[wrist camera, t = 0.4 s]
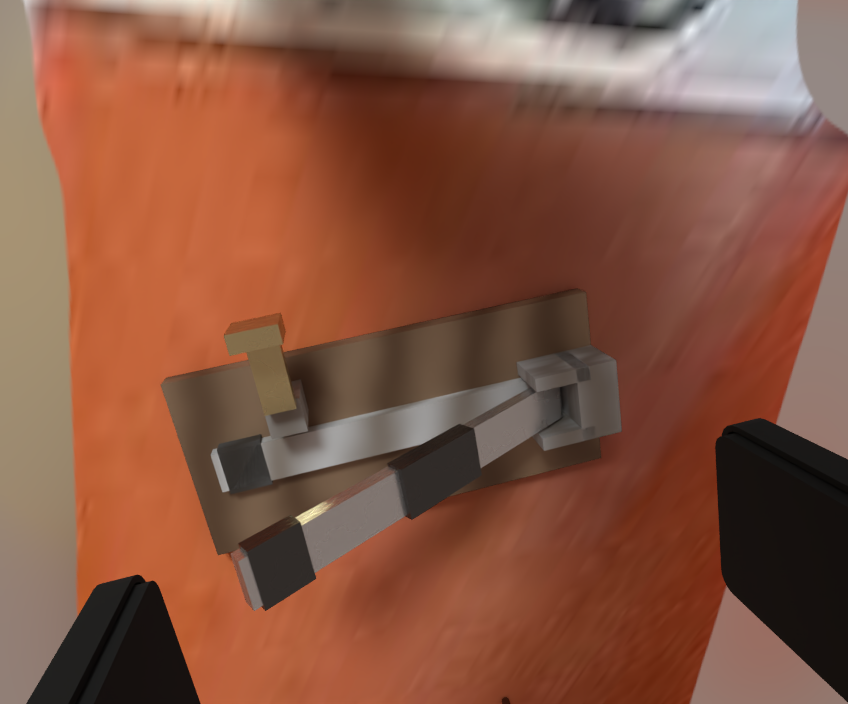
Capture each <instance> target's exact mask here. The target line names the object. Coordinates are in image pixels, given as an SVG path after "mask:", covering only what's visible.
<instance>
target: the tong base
mask: <svg viewBox="0 0 848 704" xmlns="http://www.w3.org/2000/svg"><path fill="white" fill-rule="evenodd" d="M284 356H285V360H286V363H287V367H288V371H289V375H290V379H291V383H292V386H293V390H294V394H295V398H296V402H297V408H296V409H293V410H289V411H285V412H280V413H276V414H271V415H267V416H264V412H263V409H262V405H261V402H260V398H259V394H258V391H257V387H256V384H255V380H254V377H253V373H252V370H251V366H250V363H249V360H246V361H241V362H237V363H232V364H228V365H223V366H218V367H214V368H209V369H205V370H200V371H195V372H191V373H186V374H182V375H177V376H172V377H168V378H166V379H165V380H164V381H163V382H162V384H161V387H162V390H163V393H164V396H165V399H166V402H167V405H168V408H169V411H170V414H171V417H172V420H173V423H174V426H175V429H176V432H177V435H178V438H179V441H180V444H181V447H182V450H183V453H184V456H185V459H186V462H187V465H188V468H189V471H190V473H191V476H192V479H193V482H194V485H195V488H196V491H197V494H198V497H199V500H200V503H201V506H202V509H203V512H204V515H205V518H206V521H207V524H208V527H209V530H210V533H211V536H212V539H213V542H214V545H215V548H216V551H217V554H218V555H221V554H225V553H229V552H233V551H236V550H238V549H239V545H238V543H240V542H241V541H243V540H245V539H247V538H249V537H251V536H252V535H254V534H256V533H258V532H260V531H261V530H263V529H265V528H267V527H269V526H271V525H272V524H274V523H276V522H278V521H280V520H282V519H283V518H285V517H287V516H289V515H292V516H293V517H294V518H295V517H297V516H299V515H301V514H302V513H304V512H306V511H308V510H310V509H311V508H313V507H315V506H317V505H319V504H321V503H322V502H324V501H326V500H328V499H330V498H331V497H333V496H335V495H337V494H339V493H340V492H342V491H344V490H346V489H348V488H349V487H351V486H353V485H355V484H357V483H358V482H360V481H362V480H364V479H366V478H367V477H369V476H371V475H373V474H375V473H376V472H378V471H380V470H382V469H384V468H385V467H387V466H388V465H387V463H389V462H390V461H392V460H394V459H396V458H398V457H399V456H401V455H403V454H405V453H407V452H409V451H410V450H412V449H414V448H416V447H418V446H419V445H421V444H423V443H425V442H427V441H429V440H430V439H432V438H434V437H436V436H438V435H439V434H441V433H443V432H445V431H447V430H449V429H450V428H452V427H454V426H456V425H458V424H462V425H463V424H465V423H467V422H468V421H470V420H472V419H474V418H476V417H477V416H479V415H481V414H483V413H485V412H487V411H488V410H490V409H492V408H494V407H496V406H497V405H499V404H501V403H503V402H505V401H506V400H508V399H510V398H512V397H514V396H515V395H517V394H519V393H521V392H523V391H524V390H526V389H528V388H530V387H532V388H533V389H534V390H535V391H536V392H540V391H545V390H549V389H553V388H557V387H560V394H561V403H562V412H563V417H562V418H560V419H558V420H557V421H555V422H554V423H552V424H550V425H549V426H547V427H546V428H544V429H543V430H541V431H539V432H538V433H536V434H535V435H533V436H531V437H530V438H528V439H527V440H525V441H523V442H522V443H520V444H519V445H517V446H516V447H514V448H512V449H511V450H509V451H508V452H506V453H504V454H503V455H501V456H500V457H498V458H496V459H495V460H493V461H492V462H490V463H488V464H487V465H485V466H484V467H482V468H481V473H482V475H481V476H480V477H478V478H477V479H475V480H473V481H472V482H470V483H469V484H467V485H466V486H464V487H462V488H461V489H459V490H458V491H456V492H455V493H453V494H451V495H450V496H453V495H457V494H461V493H465V492H469V491H473V490H477V489H481V488H485V487H488V486H492V485H496V484H500V483H504V482H508V481H512V480H516V479H520V478H524V477H528V476H532V475H536V474H540V473H544V472H547V471H551V470H555V469H559V468H563V467H567V466H571V465H575V464H579V463H583V462H587V461H591V460H595V459H599V458H601V450H600V439H599V437H602V436H606V435H610V434H614V433H618V432H622V428H621V415H620V403H619V390H618V377H617V364H616V360H615V359H613V358H612V357H610V356H608V355H607V354H605V353H603V352H602V351H600V350H598V349H597V348H595V347H593V346H592V345H591V341H590V330H589V319H588V308H587V297H586V292H585V291H582V290H580V289H573V290H568V291H564V292H559V293H555V294H550V295H545V296H541V297H536V298H532V299H527V300H522V301H518V302H513V303H509V304H504V305H499V306H495V307H490V308H486V309H481V310H476V311H472V312H467V313H463V314H458V315H453V316H449V317H444V318H439V319H435V320H430V321H426V322H421V323H416V324H412V325H407V326H403V327H398V328H393V329H389V330H384V331H380V332H375V333H370V334H366V335H361V336H357V337H352V338H347V339H343V340H338V341H334V342H329V343H324V344H320V345H315V346H311V347H306V348H301V349H297V350H292V351H287V352H284ZM448 497H449V496H448Z"/></svg>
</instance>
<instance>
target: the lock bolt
mask: <svg viewBox="0 0 848 704" xmlns="http://www.w3.org/2000/svg"><path fill="white" fill-rule="evenodd" d="M285 332H286V331H285V327H284V323H283V319H282V315H281V313H277V314H272V315H267V316H262V317H258V318H253V319H248V320H243V321H238V322H234V323H231V324H230V326H229V327H228V329H227V331H226V332H225V334H224V338H225V342H226V345H227V349H228V352H229V356H231V355H236V354H240V353H245V352H247V356H248V359H249V363H250V366H251V370H252V373H253V377H254V380H255V384H256V387H257V391H258V394H259V398H260V402H261V405H262V409H263V412H264V416H267V415H271V414H276V413H280V412H285V411H289V410H293V409H296V408H297V402H296V398H295V394H294V390H293V386H292V383H291V379H290V375H289V371H288V367H287V363H286V360H285V356H284V352H283V348H282V344H283V342H284V337H285Z"/></svg>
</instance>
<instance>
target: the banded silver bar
mask: <svg viewBox="0 0 848 704" xmlns="http://www.w3.org/2000/svg"><path fill="white" fill-rule="evenodd" d="M562 417H563V412H562V403H561V394H560V387H557V388H553V389H549V390H545V391H540V392H536V391H535V390H534V389H533V388H532V387H530V388H528V389H526V390H524V391H523V392H521V393H519V394H517V395H515V396H514V397H512V398H510V399H508V400H506V401H505V402H503V403H501V404H499V405H497V406H496V407H494V408H492V409H490V410H488V411H487V412H485V413H483V414H481V415H479V416H477V417H476V418H474V419H472V420H470V421H468V422H467V423H465V424H463V425H462V424H458V425H456V426H454V427H452V428H450V429H449V430H447V431H445V432H443V433H441V434H439V435H438V436H436V437H434V438H432V439H430V440H429V441H427V442H425V443H423V444H421V445H419V446H418V447H416V448H414V449H412V450H410V451H409V452H407V453H405V454H403V455H401V456H399V457H398V458H396V459H394V460H392V461H390V462H389V463H387V465H388V466H387V467H385V468H384V469H382V470H380V471H378V472H376V473H375V474H373V475H371V476H369V477H367V478H366V479H364V480H362V481H360V482H358V483H357V484H355V485H353V486H351V487H349V488H348V489H346V490H344V491H342V492H340V493H339V494H337V495H335V496H333V497H331V498H330V499H328V500H326V501H324V502H322V503H321V504H319V505H317V506H315V507H313V508H311V509H310V510H308V511H306V512H304V513H302V514H301V515H299V516H297V517H295V518H294V517H293V516H292V515H289V516H287V517H285V518H283V519H282V520H280V521H278V522H276V523H274V524H272V525H271V526H269V527H267V528H265V529H263V530H261V531H260V532H258V533H256V534H254V535H252V536H251V537H249V538H247V539H245V540H243V541H241V542H240V543H238V545H239V549H238V550H236V551H234V552H232V553H230V554H231V557H232V561H233V564H234V567H235V570H236V573H237V576H238V579H239V582H240V585H241V588H242V591H243V594H244V597H245V600H246V602H247V604H248V605H249V606H250V607H251V608H252V609H253V610H254V611H255V610H257V609H258V608H260V607H262V608H263V609H264V610H265V611H266V610H268V609H269V608H271V607H273V606H274V605H276V604H277V603H279V602H280V601H282V600H284V599H285V598H287V597H288V596H290V595H291V594H293V593H295V592H296V591H298V590H299V589H301V588H302V587H304V586H306V585H307V584H309V583H310V582H312V581H313V580H315V579H316V576H315V572H317V571H319V570H320V569H322V568H323V567H325V566H326V565H328V564H330V563H331V562H333V561H334V560H336V559H338V558H339V557H341V556H342V555H344V554H346V553H347V552H349V551H350V550H352V549H353V548H355V547H357V546H358V545H360V544H361V543H363V542H365V541H366V540H368V539H369V538H371V537H373V536H374V535H376V534H377V533H379V532H380V531H382V530H384V529H385V528H387V527H388V526H390V525H392V524H393V523H395V522H396V521H398V520H400V519H401V518H403V517H404V516H406V517H408V518H409V519H411V520H412V519H414V518H416V517H417V516H419V515H420V514H422V513H423V512H425V511H426V510H428V509H430V508H431V507H433V506H434V505H436V504H437V503H439V502H441V501H442V500H444V499H445V498H447V497H448V496H450V495H451V494H453V493H455V492H456V491H458V490H459V489H461V488H462V487H464V486H466V485H467V484H469V483H470V482H472V481H473V480H475V479H477V478H478V477H480V476H481V475H482V473H481V468H482V467H484V466H485V465H487V464H488V463H490V462H492V461H493V460H495V459H496V458H498V457H500V456H501V455H503V454H504V453H506V452H508V451H509V450H511V449H512V448H514V447H516V446H517V445H519V444H520V443H522V442H523V441H525V440H527V439H528V438H530V437H531V436H533V435H535V434H536V433H538V432H539V431H541V430H543V429H544V428H546V427H547V426H549V425H550V424H552V423H554V422H555V421H557V420H558V419H560V418H562Z"/></svg>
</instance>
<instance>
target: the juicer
mask: <svg viewBox="0 0 848 704" xmlns="http://www.w3.org/2000/svg"><path fill="white" fill-rule="evenodd" d="M502 704H510V701H509V699H508V698H507V697H504V698H503V699H502Z"/></svg>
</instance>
